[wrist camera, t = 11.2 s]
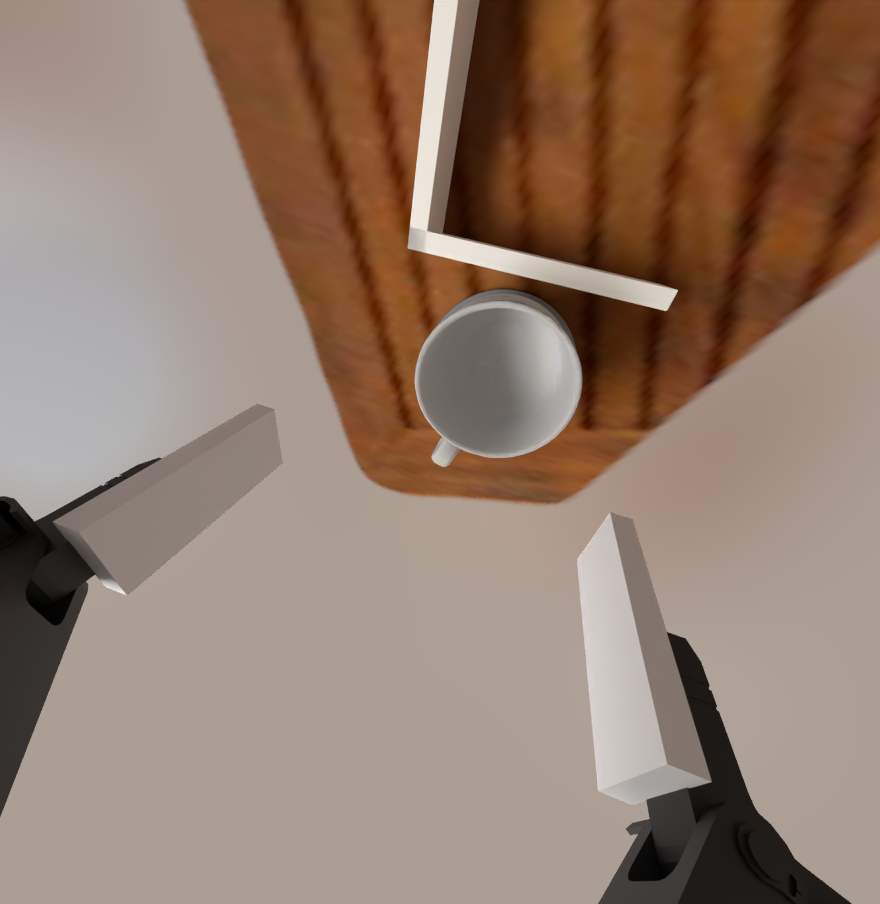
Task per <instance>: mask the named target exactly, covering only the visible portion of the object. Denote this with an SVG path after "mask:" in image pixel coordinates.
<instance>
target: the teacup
mask: <svg viewBox="0 0 880 904" xmlns="http://www.w3.org/2000/svg"><path fill="white" fill-rule="evenodd" d="M415 389H416V394H417V399H418V402H419V405H420V408H421V410H422V412H423V414H424V416H425V417H426V419H427V420H428V422H429V423H430V424H431V425H432V427H433V428H434V429H435V430H436V431H437V432H438V433H439V434H440V435H441V436H442V438H441V439H440V441H439V442H438V444H437V446H436V448H435V450H434V451H433V454H432V460H433V461H434V462H435V463H436V464H438V465H440V466H442V467H446V466H448V465H449V464H450V463H451V462H452V461H453V459H454V458H455V456H456V455H457V453H458V452H459V450H460V449H462V450H464V451H467V452H469V453H473V454H477V455H480V456H484V457H491V458H508V457H515V456H519V455H523V454H526V453H529V452H532V451H534V450H536V449H538V448H540V447H542V446H544V445H546V444H547V443H549V442H550V441H551V440H553V439H554V438H555V437H556V436H557V435H558V434H560V433H561V431H562V430H563V429H564V428H565V427H566V426H567V424H568V423H569V421H570V420H571V418H572V416H573V415H574V413H575V411H576V409H577V406H578V403H579V399H580V396H581V390H582V367H581V363H580V359H579V356H578V354H577V351H576V348H575V346H574V344H573V343H572V341H571V339H570V338H569V336H568V334H567V333H566V332H565V331H564V329H563V328H562V326H561V325H560V323H559V322H558V321H557V319H556V318H555V317H554V316H553V315H552V314H551V313H550V312H549V311H548V310H547V309H546V308H544V307H543V306H542V305H540V304H539V303H537V302H535V301H533V300H531V299H529V298H526V297H523V296H519V295H513V294H493V295H488V296H484V297H481V298H478V299H476V300H474V301H472V302H470V303H468V304H466V305H464V306H463V307H461V308H460V309H458V310H457V311H456V312H455V313H453V314H451V315H450V316H448V317H447V318H445V319H444V320H443V321H442V322H441V323H440V324H439V325H438V326H437V327H436V328H435V329H434V330H433V331H432V333H431V334H430V335H429V336H428V338H427V340H426V341H425V343H424V345H423V346H422V349H421V352H420V354H419V358H418V361H417V365H416V372H415Z"/></svg>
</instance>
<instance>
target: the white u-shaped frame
mask: <svg viewBox="0 0 880 904" xmlns="http://www.w3.org/2000/svg"><path fill="white" fill-rule="evenodd" d="M478 6H479V0H434V9H433V18H432V27H431V36H430V46H429V55H428V64H427V73H426V83H425V92H424V101H423V111H422V120H421V129H420V138H419V148H418V157H417V166H416V175H415V185H414V194H413V203H412V212H411V222H410V231H409V240H408V249H413V250H417V251H421V252H425V253H429V254H433V255H437V256H441V257H446V258H450V259H454V260H458V261H462V262H466V263H470V264H474V265H478V266H483V267H487V268H491V269H495V270H499V271H503V272H507V273H511V274H515V275H520V276H524V277H528V278H532V279H536V280H540V281H544V282H548V283H552V284H557V285H561V286H565V287H569V288H573V289H577V290H581V291H585V292H589V293H594V294H598V295H602V296H606V297H610V298H614V299H618V300H622V301H627V302H631V303H635V304H639V305H643V306H647V307H651V308H655V309H659V310H664V311H667V310H668V308H669V306H670V304H671V303H672V301H673V299H674V297H675V295H676V294H677V292H678V290H676V289H673V288H670V287H667V286H664V285H662V284H658V283H654V282H650V281H646V280H641V279H637V278H633V277H629V276H624V275H620V274H616V273H611V272H607V271H603V270H599V269H594V268H590V267H586V266H582V265H577V264H573V263H569V262H564V261H560V260H556V259H552V258H547V257H543V256H539V255H535V254H530V253H526V252H522V251H517V250H513V249H509V248H505V247H500V246H496V245H492V244H488V243H483V242H479V241H475V240H471V239H466V238H462V237H458V236H453V235H449V234H445V233H443V228H444V221H445V215H446V209H447V202H448V196H449V190H450V183H451V177H452V171H453V164H454V158H455V152H456V145H457V139H458V133H459V126H460V120H461V114H462V107H463V101H464V95H465V88H466V82H467V76H468V69H469V63H470V57H471V50H472V44H473V38H474V32H475V25H476V19H477V13H478Z"/></svg>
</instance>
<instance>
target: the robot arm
mask: <svg viewBox="0 0 880 904" xmlns="http://www.w3.org/2000/svg"><path fill="white" fill-rule="evenodd" d="M281 464H282V456H281V450H280V444H279V437H278V431H277V425H276V418H275V413H274V409H272V408H268V407H265V406H262V405H259V404H256V405H255V406H253V407H251V408H249V409H247V410H246V411H244V412H242V413H241V414H239V415H237V416H235V417H234V418H232V419H230V420H228V421H227V422H225V423H223V424H221V425H220V426H218V427H216V428H214V429H213V430H211V431H209V432H208V433H206V434H204V435H202V436H201V437H199V438H197V439H195V440H194V441H192V442H190V443H188V444H187V445H185V446H183V447H181V448H180V449H178V450H176V451H175V452H173V453H171V454H169V455H168V456H166V457H164V458H162V459H161V458H157V459H154V460H151V461H148V462H145V463H142V464H139V465H137V466H135V467H133V468H131V469H129V470H128V471H126V472H124V473H122V474H121V475H120V477H115V478H113V479H111V480H110V481H108V482H106V483H105V485H104V486H102V485H101V486H99V487H97V488H95V489H94V490H92V491H90V492H88V493H86V494H85V495H83V496H81V497H79V498H77V499H76V500H74V501H72V502H70V503H68V504H67V505H65V506H63V507H61V508H60V509H58V510H56V511H54V512H52V513H50V514H49V515H47V516H45V517H43V518H41V519H39V520H37V521H35V522H34V521H33V519H32V518H31V517H30V516H29V515H28V514H27V513H26V511H25V510H24V509H23V508H22V507H21V506H20V504H19V503H18V502H17V501H16V500H15V499H13V498H9V497H5V496H4V497H3V496H2V497H0V816H1V813H2V811H3V808H4V806H5V803H6V801H7V798H8V795H9V793H10V790H11V788H12V785H13V782H14V779H15V777H16V775H17V772H18V770H19V767H20V764H21V762H22V759H23V757H24V754H25V752H26V749H27V746H28V744H29V741H30V739H31V736H32V733H33V731H34V728H35V726H36V723H37V721H38V718H39V716H40V713H41V710H42V708H43V705H44V702H45V700H46V697H47V695H48V692H49V690H50V687H51V684H52V682H53V679H54V677H55V674H56V672H57V669H58V666H59V664H60V661H61V659H62V656H63V654H64V651H65V649H66V646H67V643H68V641H69V638H70V636H71V633H72V630H73V628H74V625H75V623H76V620H77V618H78V615H79V612H80V610H81V607H82V604H83V602H84V599H85V597H86V594H87V591H88V584H87V582H86V581H87V580H88V579H89V578H91V577H92V576H94V575H96V576H97V577H98V579H99V580H100V581H101V582H102V584H103V585H104V586H105V587H107V588H110V589H112V590H115V591H117V592H120V593H122V594H124V595H128V594H130V593H131V592H132V591H133V590H134V589H136V588H137V587H138V586H139V585H140V584H141V583H142V582H144V581H145V580H146V579H147V578H148V577H149V576H151V575H152V574H153V573H154V572H155V571H157V570H158V569H159V568H160V567H161V566H162V565H164V564H165V563H166V562H167V561H168V560H170V558H172V557H173V556H174V555H175V554H176V553H178V552H179V551H180V550H181V549H182V548H183V547H185V546H186V545H187V544H188V543H189V542H191V541H192V540H193V539H194V538H195V537H196V536H197V535H199V534H200V533H201V532H202V531H203V530H205V529H206V528H207V527H208V526H209V525H210V524H212V523H213V522H214V521H215V520H216V519H218V518H219V517H220V516H221V515H222V514H223V513H225V512H226V511H227V510H228V509H229V508H230V507H232V506H233V505H234V504H235V503H236V502H237V501H239V500H240V499H241V498H242V497H243V496H244V495H246V494H247V493H248V492H249V491H250V490H251V489H253V488H254V487H255V486H256V485H257V484H258V483H260V482H261V481H262V480H263V479H264V478H265V477H267V476H268V475H269V474H270V473H271V472H273V470H275V469H276V468H277V467H278V466H280V465H281ZM577 565H578V575H579V587H580V598H581V609H582V620H583V631H584V641H585V652H586V664H587V675H588V685H589V696H590V707H591V718H592V729H593V740H594V751H595V762H596V773H597V784H598V791H599V792H601V793H604V794H606V795H609V796H611V797H614V798H616V799H619V800H621V801H623V802H626V803H628V804H630V805H635V804H638V803H641V802H645V801H647V806H648V812H649V818H650V819H648V820H644V821H639V822H636V823H632V824H631V825H630V826H629V827H627V829H626V830H627V831H628V833H629V834H630V835H633V834H638V836H637V837H636V839H635V841H634V842H633V844H632V846H631V848H630V849H629V851H628V853H627V855H626V856H625V858H624V860H623V862H622V863H621V865H620V867H619V869H618V870H617V872H616V874H615V876H614V877H613V879H612V881H611V882H610V884H609V886H608V888H607V890H606V891H605V893H604V895H603V897H602V898H601V900H600V902H599V903H598V904H851V903H850V902H849V901H847V900H846V899H845V898H844V897H842V896H841V895H840V894H838V893H837V892H836V891H835V890H833V889H832V888H831V887H829V886H828V885H827V884H825V883H824V882H823V881H822V880H820V879H819V878H817V877H816V876H815V875H814V874H812V873H811V872H810V871H809V870H807V869H806V868H805V867H803V866H802V865H801V864H800V863H799V862H798V861H797V860H795V859H794V857H793V855H792V853H791V852H790V850H789V848H788V846H787V845H786V844H785V842H784V841H783V839H782V838H781V837H780V835H779V834H778V833H777V832H776V831H775V829H774V828H773V827H772V825H771V824H770V823H769V822H768V821H766V820H765V819H764V818H763V817H762V816H761V815H760V814H759V813H758V812H757V810H756V809H755V807H754V805H753V802H752V800H751V798H750V796H749V793H748V791H747V788H746V785H745V783H744V780H743V777H742V775H741V772H740V769H739V766H738V763H737V760H736V758H735V755H734V752H733V749H732V747H731V744H730V741H729V738H728V735H727V733H726V730H725V727H724V724H723V722H722V719H721V716H720V713H719V711H717V710H716V707H717V705H716V702H715V700H714V697H713V694H712V691H710V690H709V683H708V680H707V677H706V675H705V672H704V669H703V666H702V663H701V661H700V660H699V658H698V657H697V655H696V654H695V652H694V651H693V649H692V648H691V646H690V645H689V643H688V642H687V640H686V639H685V638H682V637H679V636H676V635H674V634H671V633H668V632H667V631H666V628H665V625H664V622H663V618H662V615H661V612H660V608H659V605H658V602H657V598H656V595H655V592H654V588H653V585H652V582H651V579H650V575H649V572H648V569H647V565H646V562H645V559H644V555H643V552H642V549H641V545H640V542H639V539H638V536H637V532H636V529H635V525H634V522H633V519H630V518H627V517H623V516H620V515H617V514H614V513H609V515H608V516H607V517H606V519H605V520H604V522H603V523H602V525H601V526H600V527H599V529H598V531H597V532H596V533H595V535H594V536H593V538H592V539H591V540H590V542H589V543H588V545H587V546H586V548H585V549H584V551H583V552H582V553H581V555H580V556H579V558H578V559H577Z"/></svg>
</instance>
